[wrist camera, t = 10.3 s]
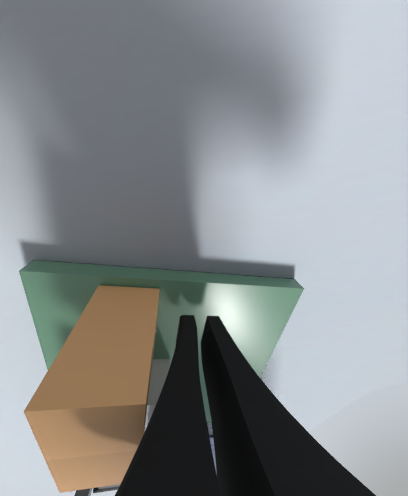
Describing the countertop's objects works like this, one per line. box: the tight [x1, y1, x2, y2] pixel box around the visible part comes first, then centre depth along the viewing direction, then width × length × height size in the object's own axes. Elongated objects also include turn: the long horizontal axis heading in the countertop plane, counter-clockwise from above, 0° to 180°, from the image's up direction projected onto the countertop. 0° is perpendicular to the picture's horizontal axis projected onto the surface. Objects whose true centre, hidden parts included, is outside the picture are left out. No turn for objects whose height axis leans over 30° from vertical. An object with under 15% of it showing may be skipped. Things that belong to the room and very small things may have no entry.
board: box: [19, 260, 304, 496], centre depth 12 cm, size 16×15×5 cm
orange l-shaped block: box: [24, 285, 160, 492], centre depth 9 cm, size 6×3×5 cm, turn 170°
